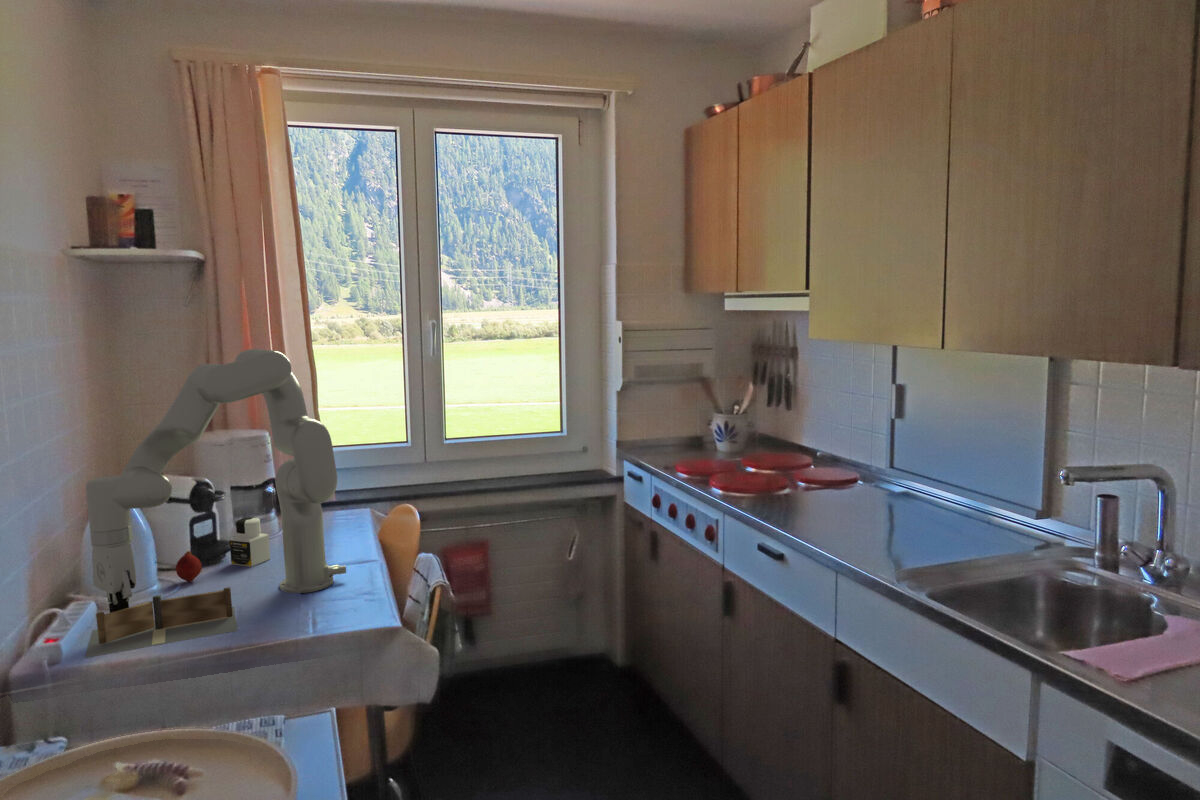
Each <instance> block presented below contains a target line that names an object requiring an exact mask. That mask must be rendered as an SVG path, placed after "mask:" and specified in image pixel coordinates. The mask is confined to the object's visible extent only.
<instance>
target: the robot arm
mask: <svg viewBox="0 0 1200 800" xmlns="http://www.w3.org/2000/svg"><path fill="white" fill-rule="evenodd" d="M260 394H262V396H263V398H264V400H265V404H266V407H267V411H268V416H269V417H268V418H269V421H270V422H269V423H270V429H271V434H272V440H273V441H272V442H273V444H274V447H275V448H276V450H278V452H280V453H282V454H285V455H288V456H290V457H291V456H292V457H293V458H291V459H287V460H286V461H284V462H283V463H282V464H281V465H280V466H279V467H278V468H277V471H276V473H275V476H274V477H275V478H274V479H275V480H274V481H275V483H274V484H275V490H276V494H277V497H278V502H279V507H280V509H279V510H280V516H281V518H280V519H281V529H282V530H281V531H282V542H283V543H282V544H283V557H284V560H283V561H284V570H285V571H284V572H285V578H284V579H283V580H281V581H280V583H279V589H280V590H281V591H282V592H284V593H292V594H307V593H313V592H318V591H321V590H324V589H326V588H329V587H330V586H332V584H333V583H334V576H335V575H343V574H346V573H347V568H346V567H347V566H346V565H339V564H335V565H329V564H328V563H327V561H326V548H325V537H324V536H325V535H324V518H323V517H324V515H323V508H322V503H326V502H327V501H329V500H330V499H331V498H332V497H333V495H334V494H335V492H336V489H337V487H338V473H337V467H336V460H335V454H334V448H333V443H332V438H331V435H330V432H329V430H328V429H327V427H326V425H324V424H323V423H322V422H321V421H319V420H317V419H314V418H310V417H309V415H308V411H307V406H306V402H305V398H304V393H303V390H302V387H301V385H300V382H299V381H298V379H297V378H296V376H295V374H294V373H293V372H292V363H291V362H290V360H289V358H288V357H287V356H286V355H285V354H284V353H282V352H280V351H278V350H274V349H262V348H260V349H259V348H250V349H245V350H243V351H241V352H240V353H238V354H237V355H236V357H235V359H234V361H232V362H228V363H223V364H221V363H220V364H218V363H203V364H200V365H198V366H196V367H195V368H193V370H192V371H191V372H190V374H189V375H188V377H187V378H186V380H185V382H184V383H183V385H182V387H181V388H180V390H179V392H178V394H177V395H176V397H175V399H174V400H173V401H172V404H171V405H170V406H169V408H168V410H167V412H166V414H165V415H164V416H163V418H162V419H161V421H160V422H158V424H157V425H156V426H155V427H154V428H153V429H152V430H151V432H149V434H148V435H147V436H146V437H145V438H144V439H143V440H142V441H141V442H140V443H139V445H138V446H137V448H136V449H135V450H134V452H133V453H132V455H131V457H130V458H129V459H128V461H127V463H126V465H125V467H124V468H123V470H122V472H121V474H120V476H118V475H107V476H106V475H105V476H101V477H95V478H92V479H90V480H88V482H87V483H86V484H85V495H86V496H85V497H86V505H87V514H88V515H87V516H88V523H89V525H88V526H89V533H90V543H91V547H92V548H91V549H92V550H91V551H92V552H91V553H92V554H91V556H92V559H91V561H92V562H91V563H92V579H93V585H94V587H96V588H97V589H99V590H101V591H103V592H106V597H107V602H108V609H109V613H111V612H115V611H118V610H122V609H125V608H129V607H130V604H129V600H130V598H131V597H132V596H133V593H132V590H133V589H135V588H136V587H137V574H136V573H137V572H136V566H135V558H134V553H133V548H132V545H131V542H133V540H134V538H133V537H134V536H133V530H132V529H133V526H132V518H131V517H132V516H131V510H132V509H133V510H134V509H151V508H156V507H159V506H161V505H164V504H165V503H167V502H168V501H169V499H170V498H171V496H172V494H173V493H172V492H173V486H172V483H171V481H170V479H169V478H168V477H167V476H165V474H162V473H163V472H164V470H165V468H166V467H167V465H168V464H169V462H170V461H171V460H172V459H173V458H174V456H176V455H177V454H178V453H179V452H181V451H182V450H184V449H185V448H187V447H189V446H190V445H192V444H195V443H196V442H197V441H199V440H200V439H201V438H202V436H203V434H204V433H205V431H206V429H207V427H208V426H209V425H210V422H211V421H212V419H213V417H214V415H215V413H216V411H217V410H218V409H219V406H220V405H221V404H231V403H234V402H238V401H241V400H245V399H248V398H249V399H250V398H251V397H254V396H257V395H260Z"/></svg>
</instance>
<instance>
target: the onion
mask: <svg viewBox="0 0 1200 800" xmlns="http://www.w3.org/2000/svg"><path fill="white" fill-rule="evenodd" d="M202 567H203V566H202V562H201V560H200V559H199V558H198V557H197V556H196V555H193V554H192V551H190V550H187V551H185V553H184V555H182V556H181V557H180V558H179V560H178V561H177V563H176V565H175V571H176V575H177V577H179V578H180V579H181V580H183V581H185V582H188V583H191V582H193V581H194V580H195V579H196V578H197V577H198V576H199V575H200V574H201V572H202Z"/></svg>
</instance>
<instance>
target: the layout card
mask: <svg viewBox="0 0 1200 800" xmlns="http://www.w3.org/2000/svg"><path fill="white" fill-rule="evenodd" d="M232 613H233V616H232V617H225V618H219V619H213V620H207V621H201V622H195V623H190V624H184V625H178V626H172V627H166V628H162V629H155V628H152V629H149V630H145V631H142V632H139V633H135V634H132V635H129V636H126V637H122V638H119V639H116V640H112V641H109V642H106V643H103V644H99V638H98V628H97V629H93V630H92V631H91V635H90V638H89V642H88V646H87V648H86V653H85V656H84V659H86V658H87V659H88V658H93V657H94V658H95V657H98V656H102V655H109V654H114V653H115V654H116V653H120V652H126V651H133V650H137V649H138V650H139V649H144V648H147V647H156V646H159V645H164V644H170V643H171V644H173V643H176V642H182V641H188V640H193V639H194V640H195V639H200V638H205V637H209V636H210V637H211V636H215V635H221V634H227V633H233V632H237V631H238V625H237V619H236V614H235V607H234V606H232ZM154 626H155V619H154Z"/></svg>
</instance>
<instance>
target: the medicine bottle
mask: <svg viewBox="0 0 1200 800" xmlns="http://www.w3.org/2000/svg"><path fill="white" fill-rule="evenodd" d="M235 530H236V536H235V537H231V538H229V549H230V552H229V553H230V563H231V565H234V566H241V567H251V568H252V567H254V566H257V565H259V564H261V563H264V562H268V561H269V560H271V552H270V551H271V550H270V538H269V534H268V533H261V532H262V530H261V519H260V518H258V517H254V516H250V517H249V516H247V517H243V518H240V519H238V520H236V521H235Z"/></svg>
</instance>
